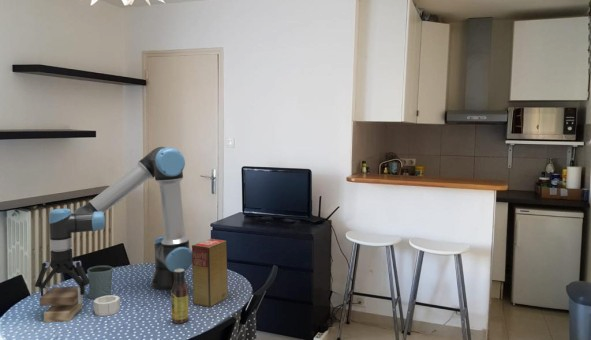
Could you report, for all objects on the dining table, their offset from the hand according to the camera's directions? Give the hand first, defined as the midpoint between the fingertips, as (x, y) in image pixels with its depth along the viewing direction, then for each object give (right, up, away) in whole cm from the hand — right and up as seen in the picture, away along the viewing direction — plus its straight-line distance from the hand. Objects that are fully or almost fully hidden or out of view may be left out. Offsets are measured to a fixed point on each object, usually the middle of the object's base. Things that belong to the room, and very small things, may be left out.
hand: (63, 303), depth 178 cm
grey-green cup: (+6, -3, +21) cm, 22 cm away
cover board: (0, +2, 0) cm, 2 cm away
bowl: (+16, -4, +3) cm, 17 cm away
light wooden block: (0, -4, 0) cm, 4 cm away
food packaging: (+55, -4, +16) cm, 57 cm away
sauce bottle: (+47, -5, -5) cm, 48 cm away
